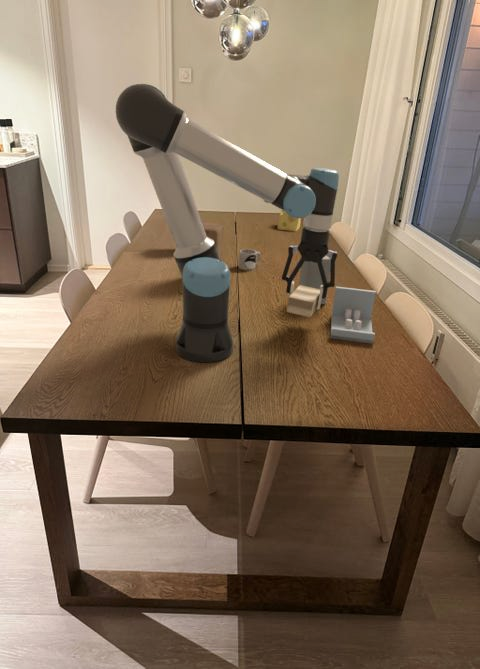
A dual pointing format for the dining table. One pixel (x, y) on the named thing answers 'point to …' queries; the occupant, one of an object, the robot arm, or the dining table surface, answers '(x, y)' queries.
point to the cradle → (352, 315)
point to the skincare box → (314, 274)
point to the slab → (303, 301)
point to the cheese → (288, 222)
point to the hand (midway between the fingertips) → (304, 305)
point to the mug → (248, 259)
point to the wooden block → (215, 235)
